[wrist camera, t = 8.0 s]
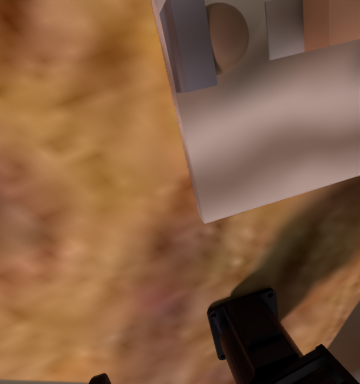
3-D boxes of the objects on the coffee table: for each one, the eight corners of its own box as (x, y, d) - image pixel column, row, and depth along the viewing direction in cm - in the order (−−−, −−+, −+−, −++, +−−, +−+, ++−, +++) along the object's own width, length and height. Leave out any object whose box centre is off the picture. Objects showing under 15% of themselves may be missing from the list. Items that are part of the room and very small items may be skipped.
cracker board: (410, 150, 22) (479, 163, 18) (198, 214, 20) (219, 247, 16) (445, -143, 15) (570, -235, 11) (130, -92, 13) (135, -182, 9)
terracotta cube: (334, 44, 16) (362, 38, 14) (304, 52, 16) (328, 46, 14) (334, -15, 15) (364, -31, 13) (302, -8, 15) (328, -23, 13)
